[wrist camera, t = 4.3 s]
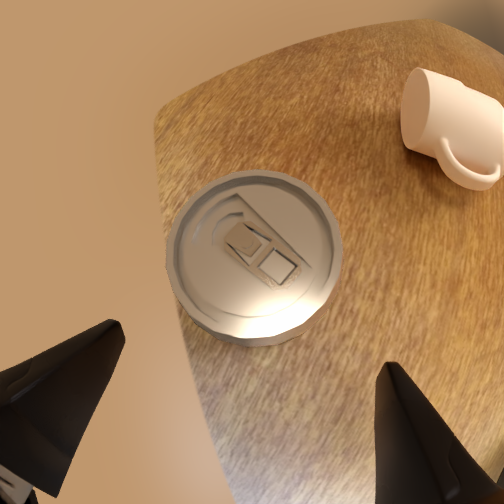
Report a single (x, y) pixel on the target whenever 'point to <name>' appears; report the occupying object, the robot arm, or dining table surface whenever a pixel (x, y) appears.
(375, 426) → the robot arm
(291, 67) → the dining table surface
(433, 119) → the mug
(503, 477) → the grey open square box
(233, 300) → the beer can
